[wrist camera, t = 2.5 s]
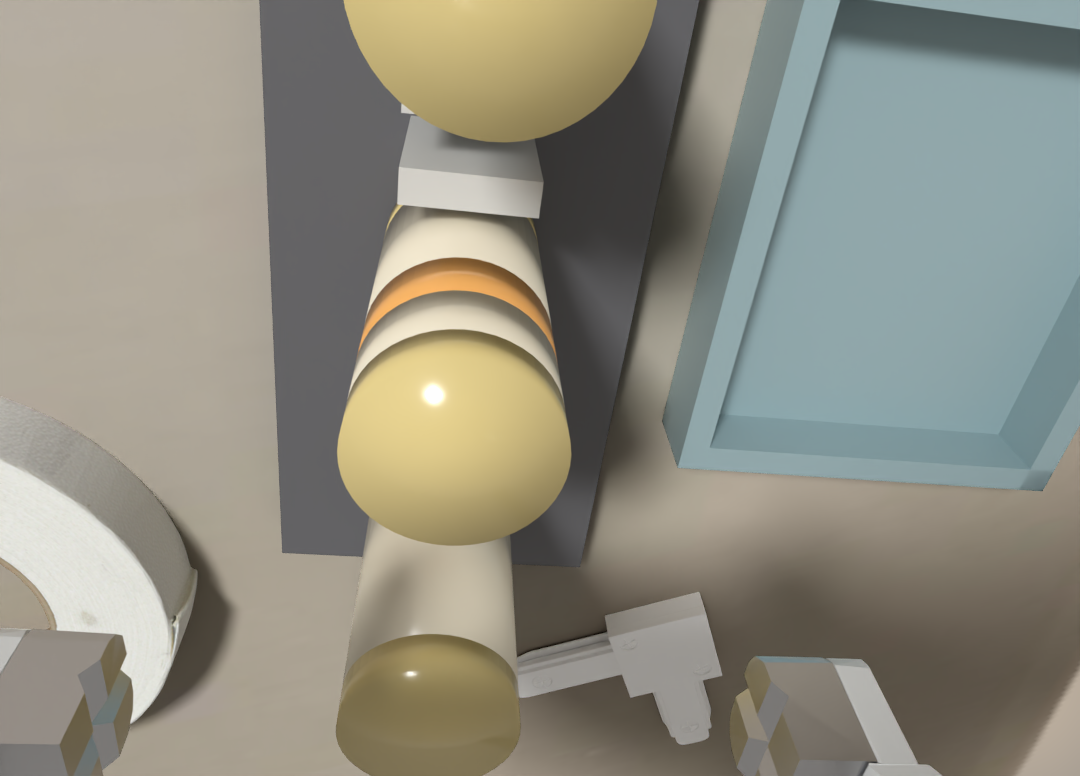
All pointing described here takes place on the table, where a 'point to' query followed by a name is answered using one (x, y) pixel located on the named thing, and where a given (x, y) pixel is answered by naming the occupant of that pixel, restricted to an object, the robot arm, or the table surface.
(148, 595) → the roll of tape
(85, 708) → the robot arm
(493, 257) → the cylinder
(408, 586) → the fuse
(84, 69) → the table surface
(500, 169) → the clip block
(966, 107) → the tray
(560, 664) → the corner connector
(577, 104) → the fuse
